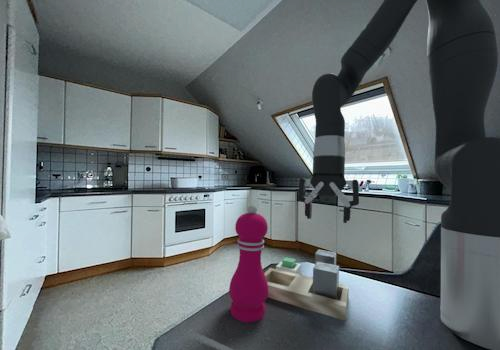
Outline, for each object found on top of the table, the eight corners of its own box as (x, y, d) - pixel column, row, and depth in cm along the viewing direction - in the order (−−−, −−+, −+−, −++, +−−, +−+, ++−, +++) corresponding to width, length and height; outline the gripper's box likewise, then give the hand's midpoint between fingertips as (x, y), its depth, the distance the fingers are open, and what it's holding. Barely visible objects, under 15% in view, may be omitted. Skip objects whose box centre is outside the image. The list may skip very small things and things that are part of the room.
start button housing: (300, 275, 57) (301, 264, 57) (295, 283, 53) (296, 270, 53) (282, 271, 60) (282, 260, 60) (275, 278, 55) (276, 266, 55)
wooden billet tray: (348, 300, 46) (348, 286, 46) (345, 324, 38) (345, 306, 38) (269, 279, 54) (270, 267, 54) (253, 295, 46) (254, 281, 46)
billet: (338, 300, 44) (339, 265, 45) (336, 310, 40) (336, 273, 41) (316, 294, 46) (317, 261, 47) (312, 304, 43) (313, 268, 43)
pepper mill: (268, 328, 36) (273, 207, 36) (225, 326, 36) (231, 205, 37) (266, 304, 43) (270, 203, 44) (230, 302, 43) (234, 202, 44)
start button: (295, 268, 57) (295, 259, 57) (292, 272, 54) (292, 262, 55) (285, 266, 58) (285, 257, 58) (281, 269, 56) (282, 260, 56)
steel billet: (335, 280, 54) (336, 252, 54) (333, 287, 50) (334, 257, 50) (317, 276, 56) (318, 249, 56) (314, 283, 52) (315, 253, 52)
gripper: (360, 157, 54) (358, 222, 54) (304, 158, 61) (301, 215, 60) (360, 153, 48) (358, 226, 47) (297, 154, 54) (294, 218, 54)
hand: (326, 220), depth 54 cm, fingers open, 8 cm apart
